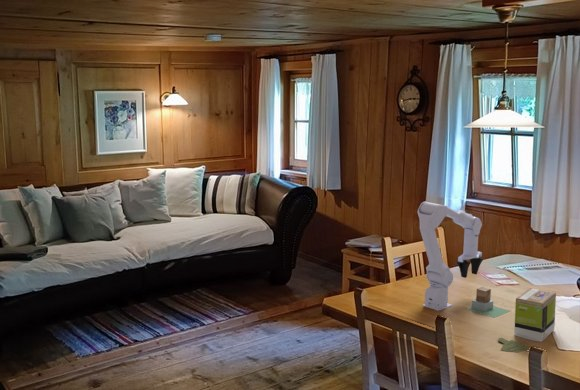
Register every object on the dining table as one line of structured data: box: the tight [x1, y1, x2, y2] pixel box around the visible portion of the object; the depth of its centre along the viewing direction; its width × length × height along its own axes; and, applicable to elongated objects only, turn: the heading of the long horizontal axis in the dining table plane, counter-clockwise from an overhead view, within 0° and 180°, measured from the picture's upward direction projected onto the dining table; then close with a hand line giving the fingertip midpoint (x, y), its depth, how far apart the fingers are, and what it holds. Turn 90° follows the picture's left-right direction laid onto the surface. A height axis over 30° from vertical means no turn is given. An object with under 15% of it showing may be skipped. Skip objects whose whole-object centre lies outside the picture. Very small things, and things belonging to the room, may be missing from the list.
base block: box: [471, 298, 494, 311], centre depth 259 cm, size 6×6×3 cm
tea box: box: [513, 287, 557, 343], centre depth 232 cm, size 15×10×15 cm
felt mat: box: [466, 305, 511, 319], centre depth 257 cm, size 12×13×1 cm
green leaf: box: [497, 337, 531, 354], centre depth 218 cm, size 11×18×1 cm, turn 36°
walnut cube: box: [475, 286, 492, 303], centre depth 258 cm, size 4×4×5 cm
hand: (469, 275), depth 271 cm, fingers open, 7 cm apart
